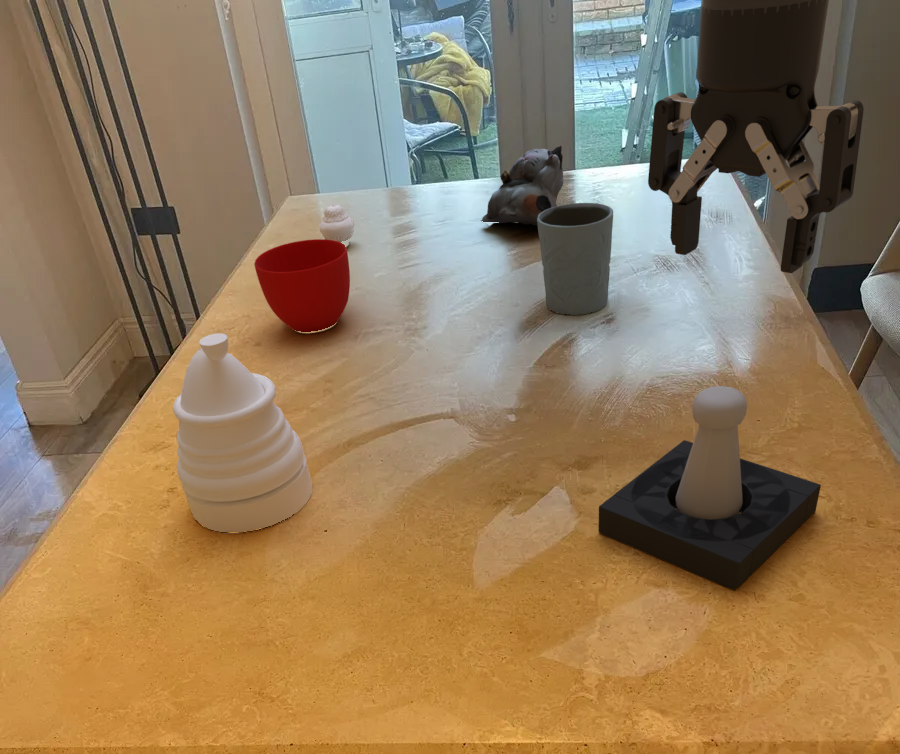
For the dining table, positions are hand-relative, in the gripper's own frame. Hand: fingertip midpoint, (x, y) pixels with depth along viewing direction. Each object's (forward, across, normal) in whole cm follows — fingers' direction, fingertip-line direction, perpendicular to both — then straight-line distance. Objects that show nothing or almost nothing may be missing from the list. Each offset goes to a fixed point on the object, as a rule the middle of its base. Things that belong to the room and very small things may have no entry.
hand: (736, 260), depth 62 cm
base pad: (+24, 0, 0) cm, 24 cm away
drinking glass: (+24, +42, -35) cm, 60 cm away
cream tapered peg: (+24, 0, 0) cm, 24 cm away
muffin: (+24, +94, -35) cm, 103 cm away
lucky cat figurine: (+24, +71, -58) cm, 95 cm away
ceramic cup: (+24, +71, -12) cm, 76 cm away
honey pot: (+24, +40, +23) cm, 52 cm away
